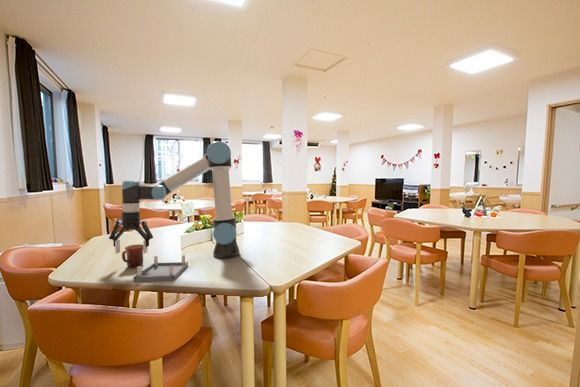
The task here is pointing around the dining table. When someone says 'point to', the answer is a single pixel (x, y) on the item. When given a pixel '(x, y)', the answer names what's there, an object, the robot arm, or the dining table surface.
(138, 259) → the mug
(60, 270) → the dining table surface
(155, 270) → the tray
